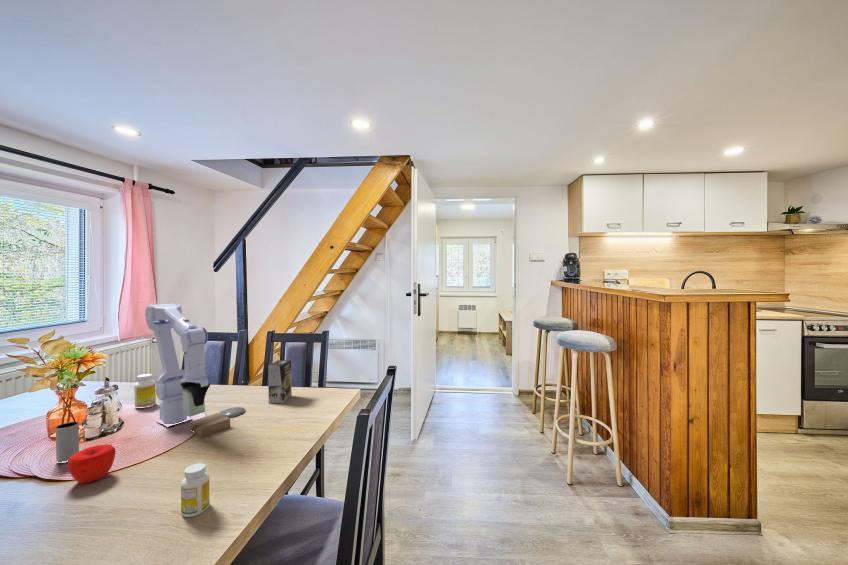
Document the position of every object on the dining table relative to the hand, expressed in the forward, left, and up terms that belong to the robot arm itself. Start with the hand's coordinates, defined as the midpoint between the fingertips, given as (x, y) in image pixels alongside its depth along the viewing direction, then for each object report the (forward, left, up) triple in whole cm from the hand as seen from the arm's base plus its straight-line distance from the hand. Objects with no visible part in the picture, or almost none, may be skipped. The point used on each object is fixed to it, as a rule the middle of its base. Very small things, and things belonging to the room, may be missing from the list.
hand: (195, 403), depth 114 cm
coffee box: (-3, +34, -10) cm, 36 cm away
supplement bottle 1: (-44, 0, -10) cm, 45 cm away
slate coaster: (-6, +15, -10) cm, 19 cm away
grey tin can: (-13, -28, -10) cm, 33 cm away
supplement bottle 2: (+42, -18, -10) cm, 47 cm away
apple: (+6, -27, -10) cm, 29 cm away
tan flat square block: (+1, +4, -10) cm, 11 cm away
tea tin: (0, 0, -3) cm, 3 cm away
